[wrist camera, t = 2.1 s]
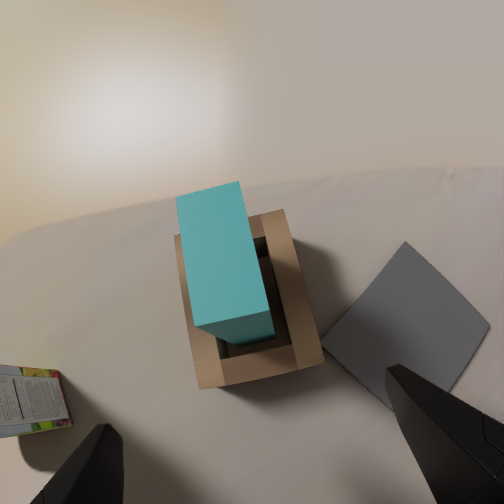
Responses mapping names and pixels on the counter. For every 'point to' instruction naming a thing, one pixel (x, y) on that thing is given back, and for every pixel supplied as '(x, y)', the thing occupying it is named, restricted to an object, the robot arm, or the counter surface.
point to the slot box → (281, 309)
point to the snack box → (31, 401)
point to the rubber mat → (407, 326)
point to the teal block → (223, 266)
